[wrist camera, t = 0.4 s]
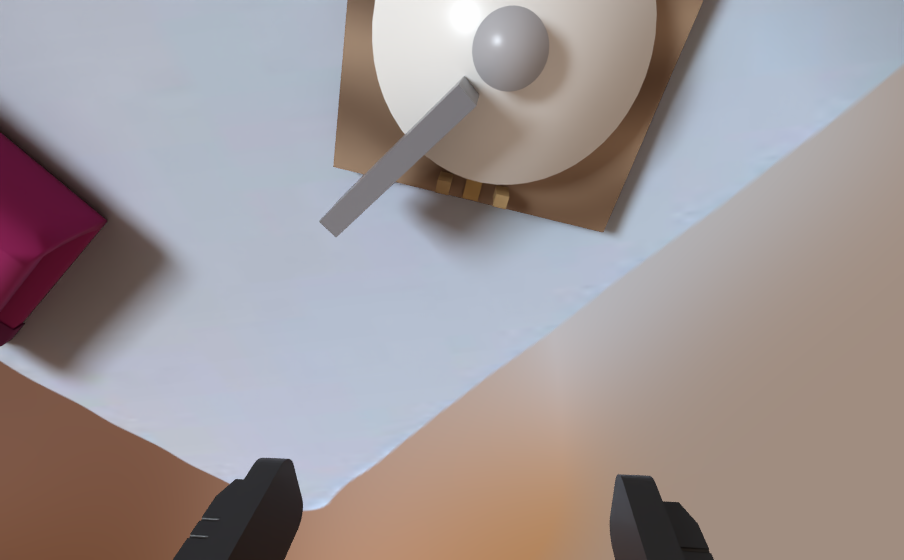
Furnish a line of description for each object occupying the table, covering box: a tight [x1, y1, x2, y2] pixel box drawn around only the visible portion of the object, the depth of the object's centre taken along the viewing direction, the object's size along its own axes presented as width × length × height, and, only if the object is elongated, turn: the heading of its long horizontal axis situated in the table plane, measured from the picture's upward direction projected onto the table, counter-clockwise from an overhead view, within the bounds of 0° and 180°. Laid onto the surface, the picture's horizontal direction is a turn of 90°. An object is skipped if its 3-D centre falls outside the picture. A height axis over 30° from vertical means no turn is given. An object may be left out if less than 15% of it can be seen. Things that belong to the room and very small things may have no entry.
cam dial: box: [319, 0, 657, 237], centre depth 22 cm, size 20×14×6 cm
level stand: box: [333, 0, 703, 232], centre depth 24 cm, size 18×18×3 cm
